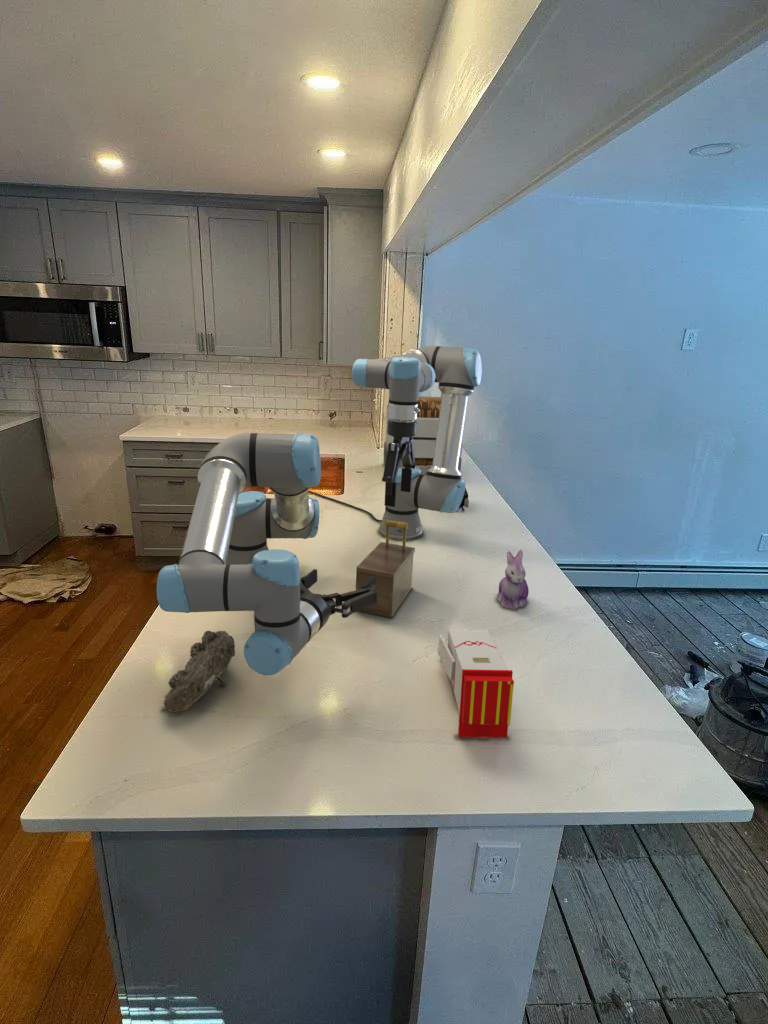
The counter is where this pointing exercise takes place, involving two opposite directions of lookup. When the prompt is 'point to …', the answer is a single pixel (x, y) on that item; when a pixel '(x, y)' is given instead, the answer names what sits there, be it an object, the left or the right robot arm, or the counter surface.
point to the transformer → (423, 432)
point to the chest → (388, 590)
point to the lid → (387, 555)
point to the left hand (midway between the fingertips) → (344, 578)
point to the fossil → (200, 670)
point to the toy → (478, 682)
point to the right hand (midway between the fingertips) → (398, 498)
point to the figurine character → (464, 500)
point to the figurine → (513, 583)
